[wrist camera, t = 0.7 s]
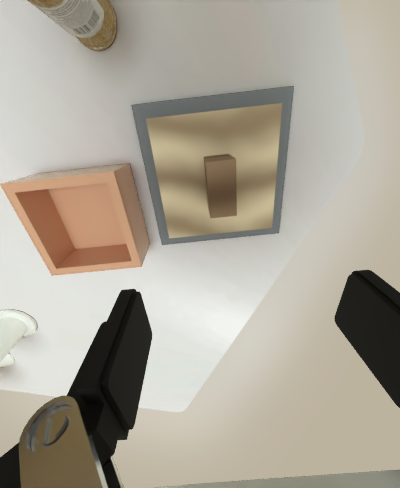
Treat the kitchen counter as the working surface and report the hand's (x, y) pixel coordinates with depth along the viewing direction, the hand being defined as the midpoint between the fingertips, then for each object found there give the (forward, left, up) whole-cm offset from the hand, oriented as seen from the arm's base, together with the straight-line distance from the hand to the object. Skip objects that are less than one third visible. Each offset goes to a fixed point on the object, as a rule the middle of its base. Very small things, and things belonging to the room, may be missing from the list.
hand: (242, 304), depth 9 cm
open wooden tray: (+2, -16, -21) cm, 27 cm away
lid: (-1, +1, -21) cm, 21 cm away
